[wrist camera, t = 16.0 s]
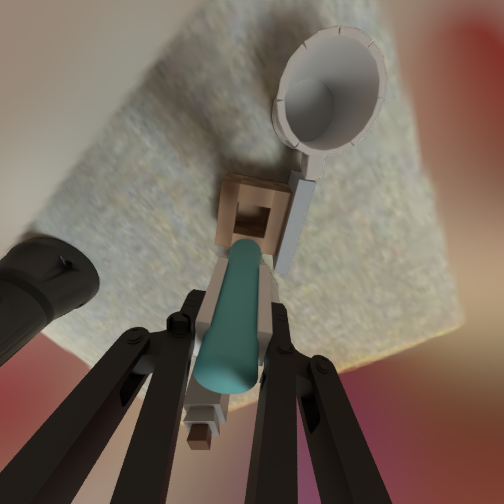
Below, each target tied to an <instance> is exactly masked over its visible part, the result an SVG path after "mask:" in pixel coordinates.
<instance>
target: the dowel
mask: <svg viewBox="0 0 504 504" xmlns="http://www.w3.org/2000/svg"><path fill="white" fill-rule="evenodd" d="M227 259H229V260H228V265H227V269H226V272H225V276H224V280H223V283H222V287H221V290H220V294H219V297H218V301H217V304H216V308H215V312H214V315H213V319H212V322H211V326H210V329H208V330H207V331H206V332H205V334H204V336H203V339H202V343H201V346H200V349H199V352H198V356H197V359H196V362H195V365H194V369H193V374H194V377H195V379H196V380H197V382H198V383H199V384H201V385H202V386H203V387H205V388H207V389H209V390H211V391H214V392H217V393H222V394H238V393H242V392H245V391H248V390H250V389H251V388H252V387H254V386H255V384H256V383H257V380H258V357H259V342H258V339H257V309H258V280H259V266H260V264H261V248H260V246H259V245H258V244H257V243H256V242H255V241H253V240H251V239H239V240H237V241H235V242H234V243H233V244H232V246H231V248H230V252H229V255H228V258H227Z"/></svg>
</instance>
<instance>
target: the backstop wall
mask: <svg viewBox="0 0 504 504" xmlns="http://www.w3.org/2000/svg"><path fill="white" fill-rule="evenodd" d="M288 185H289V187H290V189H291V191H292V193H293V197H292V200H291V204H290V208H289V212H288V215H287V219H286V223H285V226H284V230H283V234H282V238H281V241H280V245H279V249H278V253H277V256H275V255H273V267H274V273H279V274H285V275H288V272H289V269H290V266H291V263H292V259H293V256H294V253H295V250H296V246H297V243H298V240H299V237H300V234H301V230H302V227H303V224H304V221H305V218H306V214H307V211H308V208H309V205H310V202H311V198H312V195H313V192H314V189H315V186H316V182H315V181H314V180H307V179H305V178H304V176H303V174H302V172H298V171H293V170H291V173H290V177H289V181H288Z"/></svg>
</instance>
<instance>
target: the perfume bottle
mask: <svg viewBox="0 0 504 504" xmlns="http://www.w3.org/2000/svg"><path fill="white" fill-rule="evenodd" d="M196 359H197V358H196ZM195 362H196V361H195ZM193 369H194V368H193ZM229 396H230V394H222V393H217V392H214V391H211V390H209V389H207V388H205V387H203V386H202V385H201V384H199V383H198V382H197V380H196V379H195V377H194V374H193V371H192V375H191V378H190V381H189V385H188V388H187V391H186V395H185V398H184V404H183V407H184V409H185V411H186V413H187V415H186V417H185V419H184V420H183V422H184V424H185V426H186V428H187V430H188V432H189V435H188V438H187V442H188V444H189V446H190V448H191V450H210V445H211V436H220V429H219V424H226V420H227V412H228V404H229Z"/></svg>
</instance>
